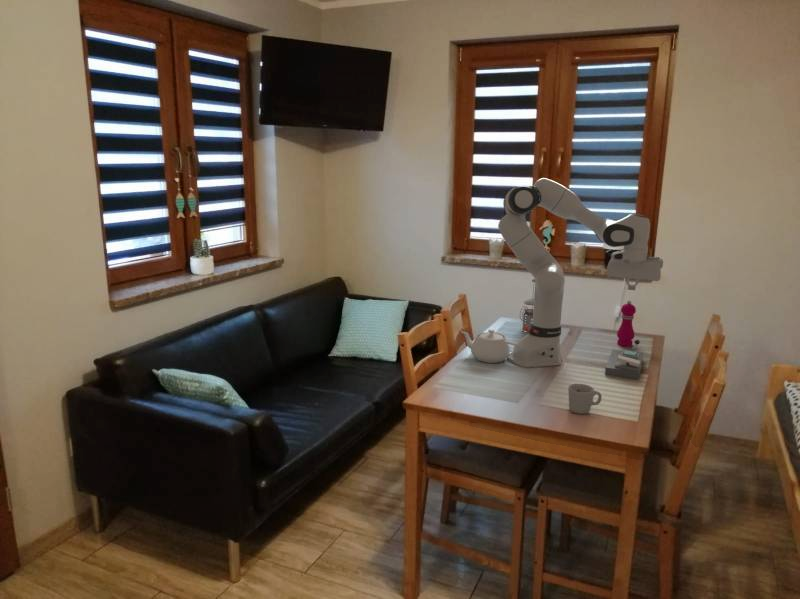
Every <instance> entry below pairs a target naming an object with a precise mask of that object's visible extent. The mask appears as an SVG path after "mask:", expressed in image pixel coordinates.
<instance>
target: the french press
mask: <svg viewBox="0 0 800 599" xmlns="http://www.w3.org/2000/svg"><path fill="white" fill-rule="evenodd" d="M531 282H532V283H535V278H533V279H532V280H531ZM532 288H533V290H532V294H535V285H533V287H532ZM523 303H524V306H522V307H521V309H520V311H519V314H521V312H522V314H521V316H519V318H520V320H521V322H522V327H521V329H522V330H523V331H526V332H528V331H527V330H524V326H525V325H527V326H529V327H530V326H531V324H532V323H533V308H534V298H531V299H529V298H528V299H526V300H524V301H523ZM526 305H527V306H526ZM528 306H531V308H529V307H528ZM522 310H523V311H522Z"/></svg>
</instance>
